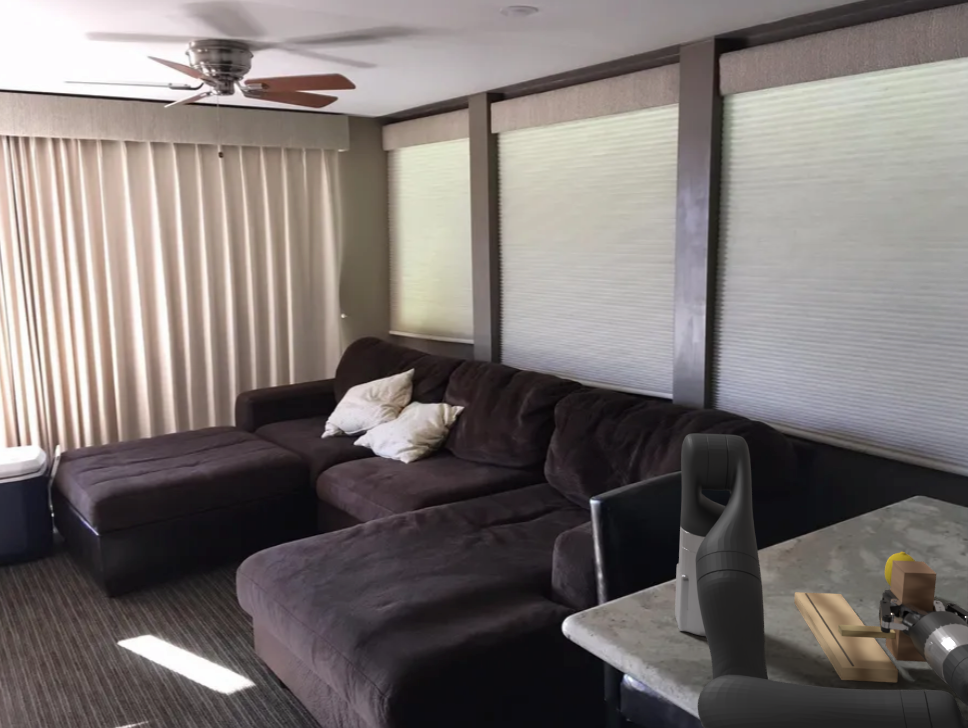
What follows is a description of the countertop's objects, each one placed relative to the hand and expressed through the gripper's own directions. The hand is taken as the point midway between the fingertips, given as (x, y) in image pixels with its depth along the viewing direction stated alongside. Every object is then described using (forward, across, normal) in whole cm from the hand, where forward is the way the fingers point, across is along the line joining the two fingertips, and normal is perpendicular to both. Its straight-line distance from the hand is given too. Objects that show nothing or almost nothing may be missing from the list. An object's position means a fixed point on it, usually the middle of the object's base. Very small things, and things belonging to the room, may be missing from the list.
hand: (904, 596), depth 128 cm
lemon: (+25, +10, -11) cm, 29 cm away
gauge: (-3, -4, -8) cm, 9 cm away
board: (+6, -7, -11) cm, 14 cm away
